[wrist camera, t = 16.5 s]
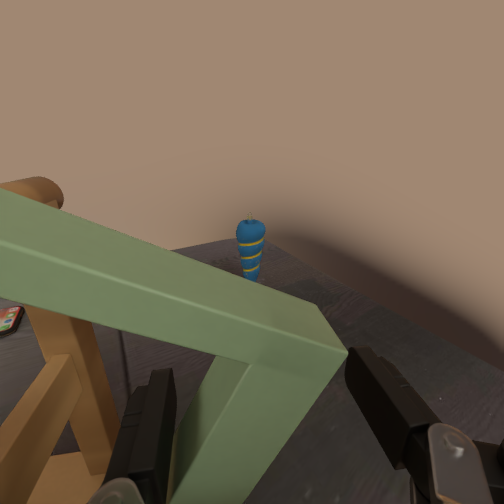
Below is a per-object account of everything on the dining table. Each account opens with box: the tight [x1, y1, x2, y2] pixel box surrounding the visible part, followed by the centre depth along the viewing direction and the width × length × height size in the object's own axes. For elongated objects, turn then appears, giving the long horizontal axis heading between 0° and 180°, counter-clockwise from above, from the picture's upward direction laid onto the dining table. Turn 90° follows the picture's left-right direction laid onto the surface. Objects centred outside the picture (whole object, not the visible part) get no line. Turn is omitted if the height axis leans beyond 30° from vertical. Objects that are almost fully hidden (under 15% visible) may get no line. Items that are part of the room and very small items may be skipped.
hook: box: [0, 188, 348, 504], centre depth 9 cm, size 14×5×19 cm, turn 99°
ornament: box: [236, 216, 265, 282], centre depth 48 cm, size 5×5×15 cm
